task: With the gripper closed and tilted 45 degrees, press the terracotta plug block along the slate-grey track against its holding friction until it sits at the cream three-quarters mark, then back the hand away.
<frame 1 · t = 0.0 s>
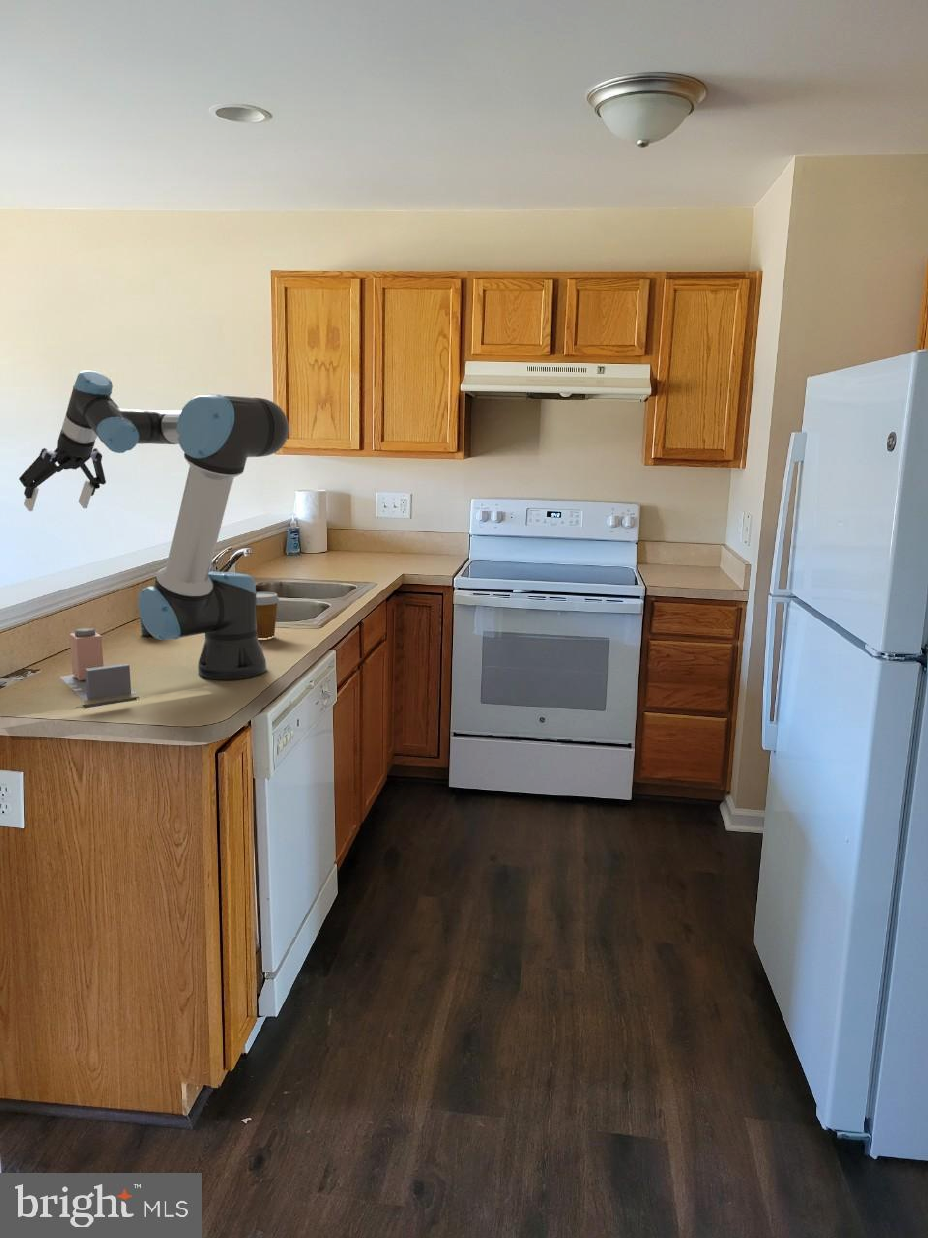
hand: (56, 506, 209), 36 cm above the worktop, tool tilted 35°, fingers open, 13 cm apart
terracotta plug block: (86, 652, 185), point 7 cm above the worktop, slide at 0.0 cm
supplement bottle: (154, 635, 235), on the worktop
disposable coffee cup: (262, 638, 232), on the worktop
slate track: (89, 684, 187), on the worktop
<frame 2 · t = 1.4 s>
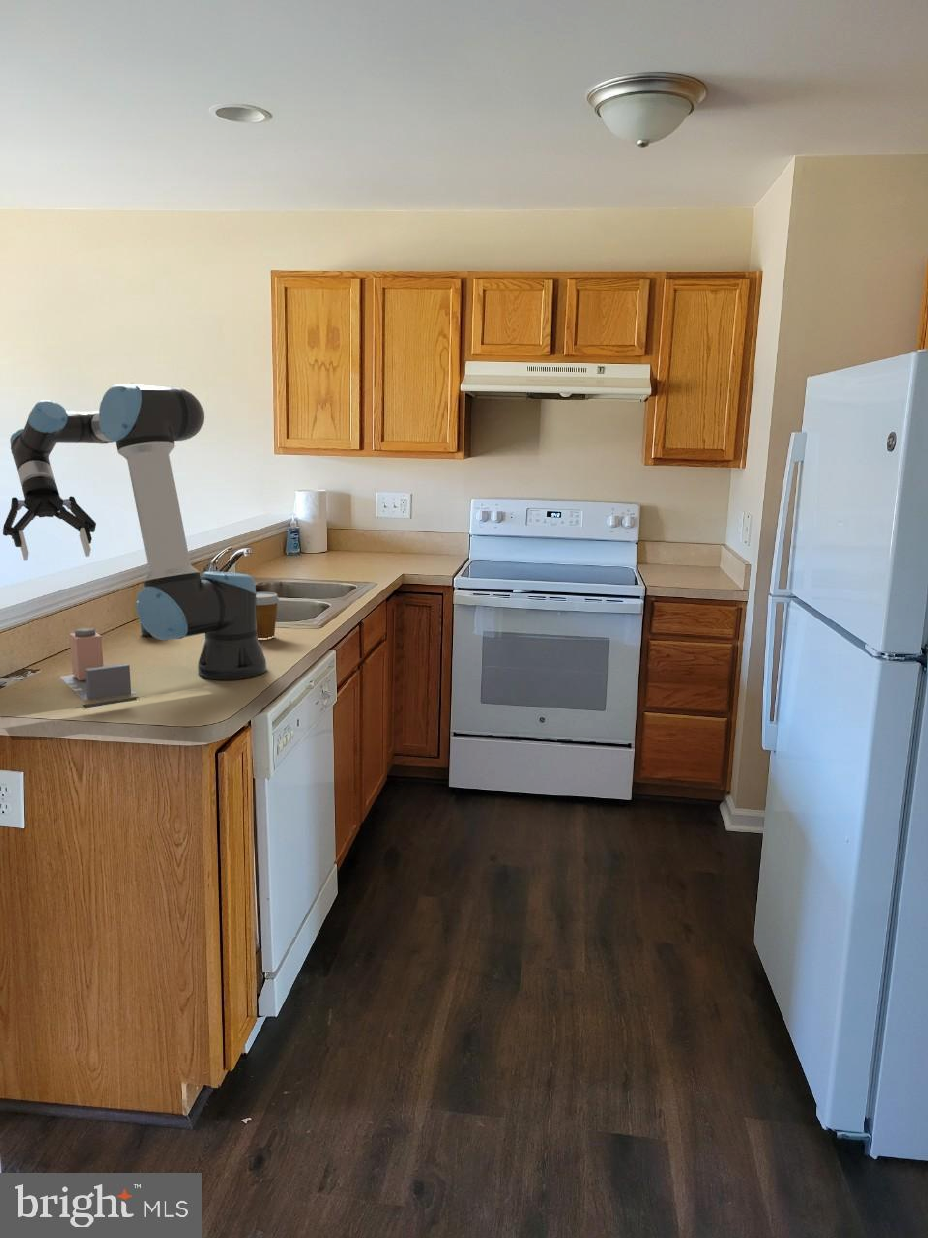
hand: (57, 555, 198), 26 cm above the worktop, tool tilted 45°, fingers open, 12 cm apart
nothing on the worktop moved.
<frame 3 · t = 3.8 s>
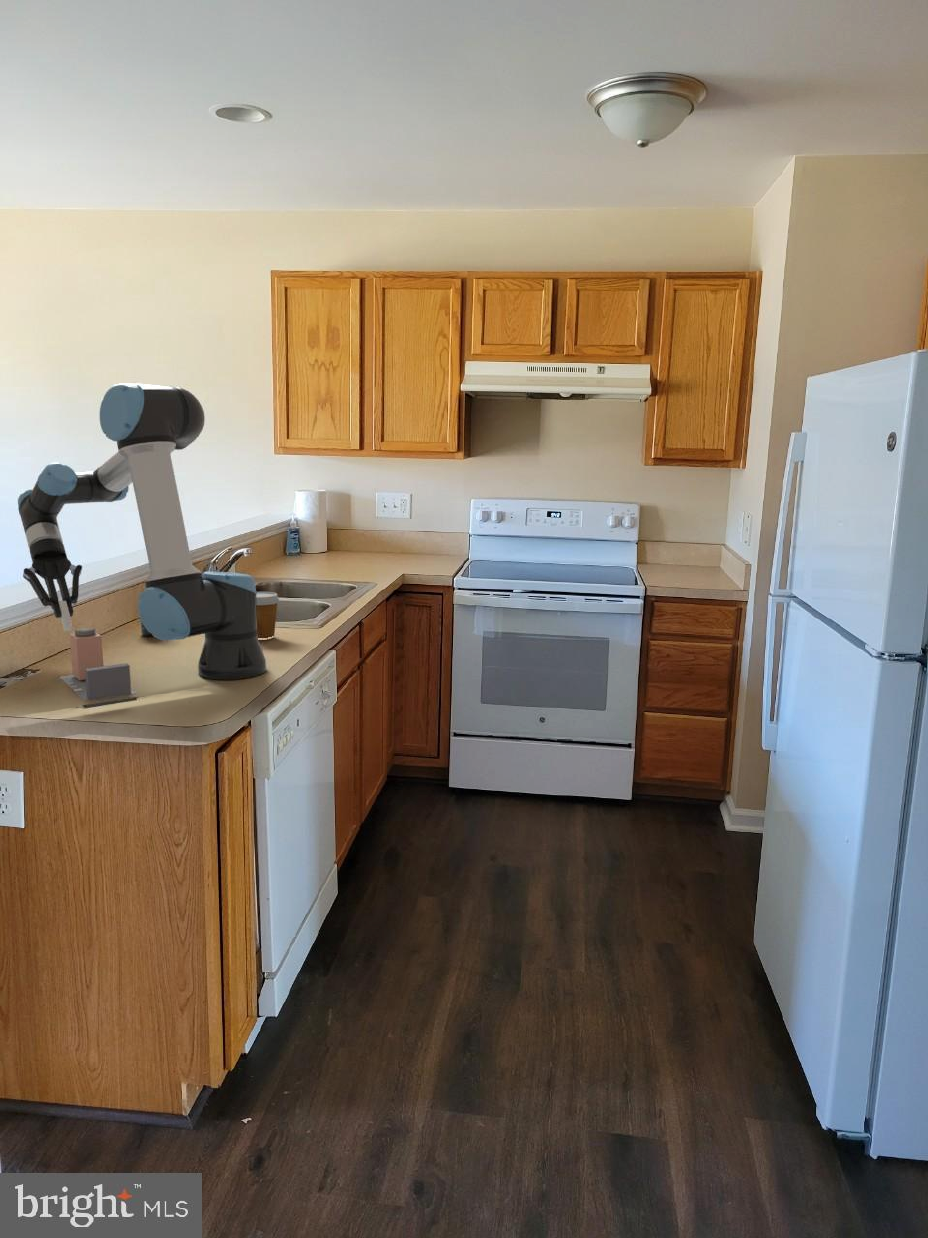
hand: (68, 627, 195), 10 cm above the worktop, tool tilted 45°, fingers closed
nothing on the worktop moved.
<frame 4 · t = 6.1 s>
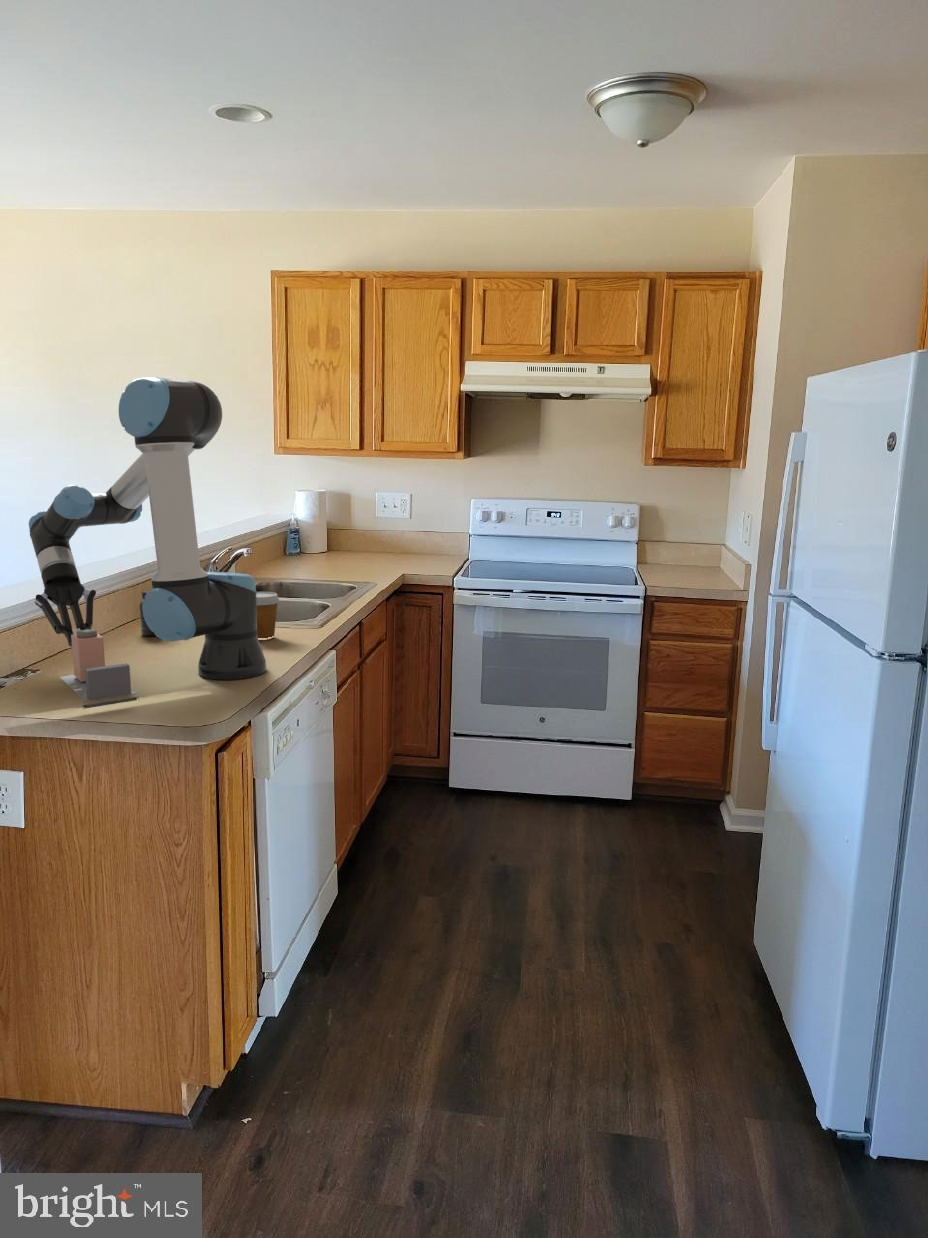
hand: (82, 656, 187), 6 cm above the worktop, tool tilted 45°, fingers closed
terracotta plug block: (88, 654, 184), point 7 cm above the worktop, slide at 1.4 cm, touching gripper
everything else where it was.
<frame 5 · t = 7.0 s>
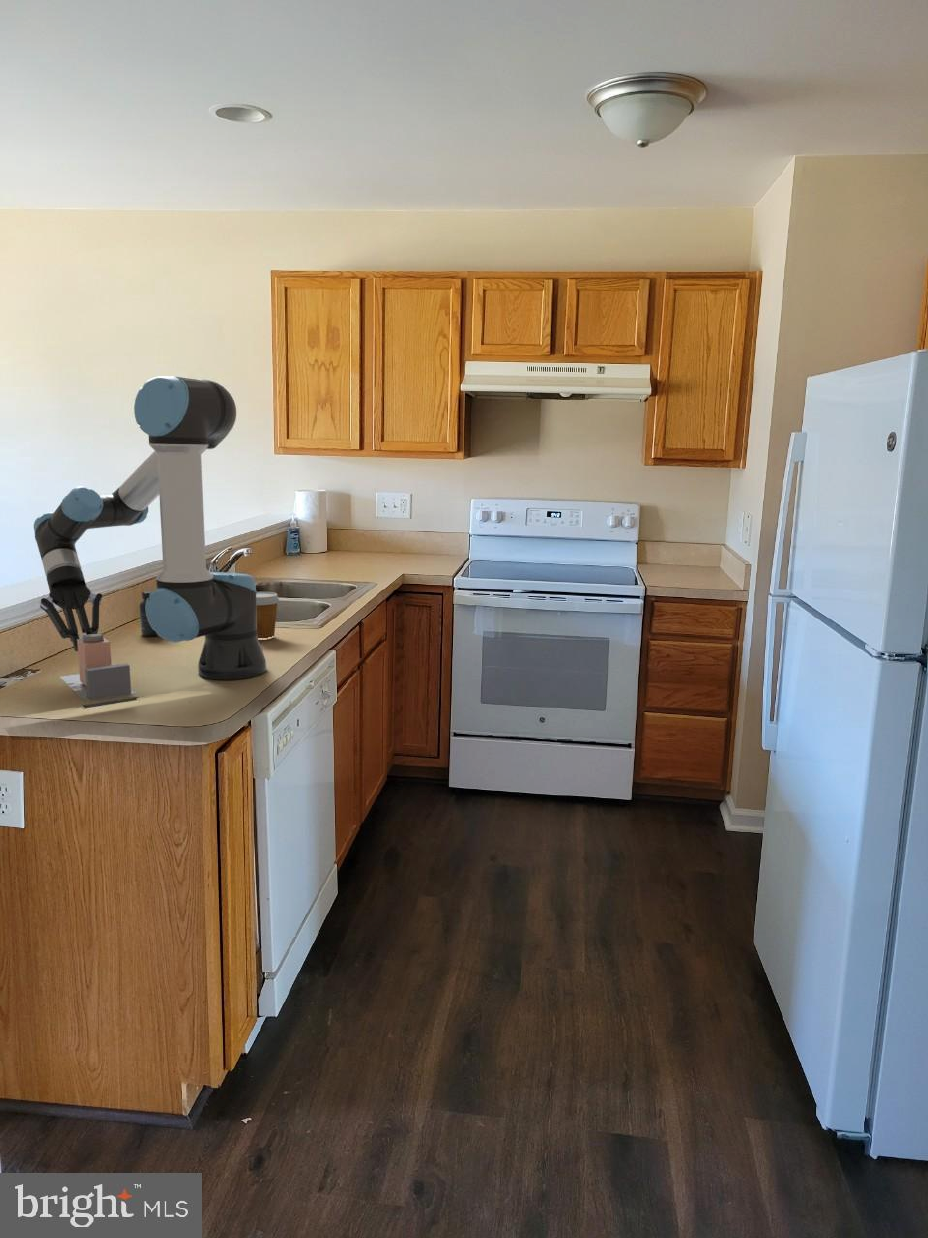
hand: (88, 661, 183), 6 cm above the worktop, tool tilted 45°, fingers closed
terracotta plug block: (94, 659, 180), point 7 cm above the worktop, slide at 6.6 cm, touching gripper
everything else where it was.
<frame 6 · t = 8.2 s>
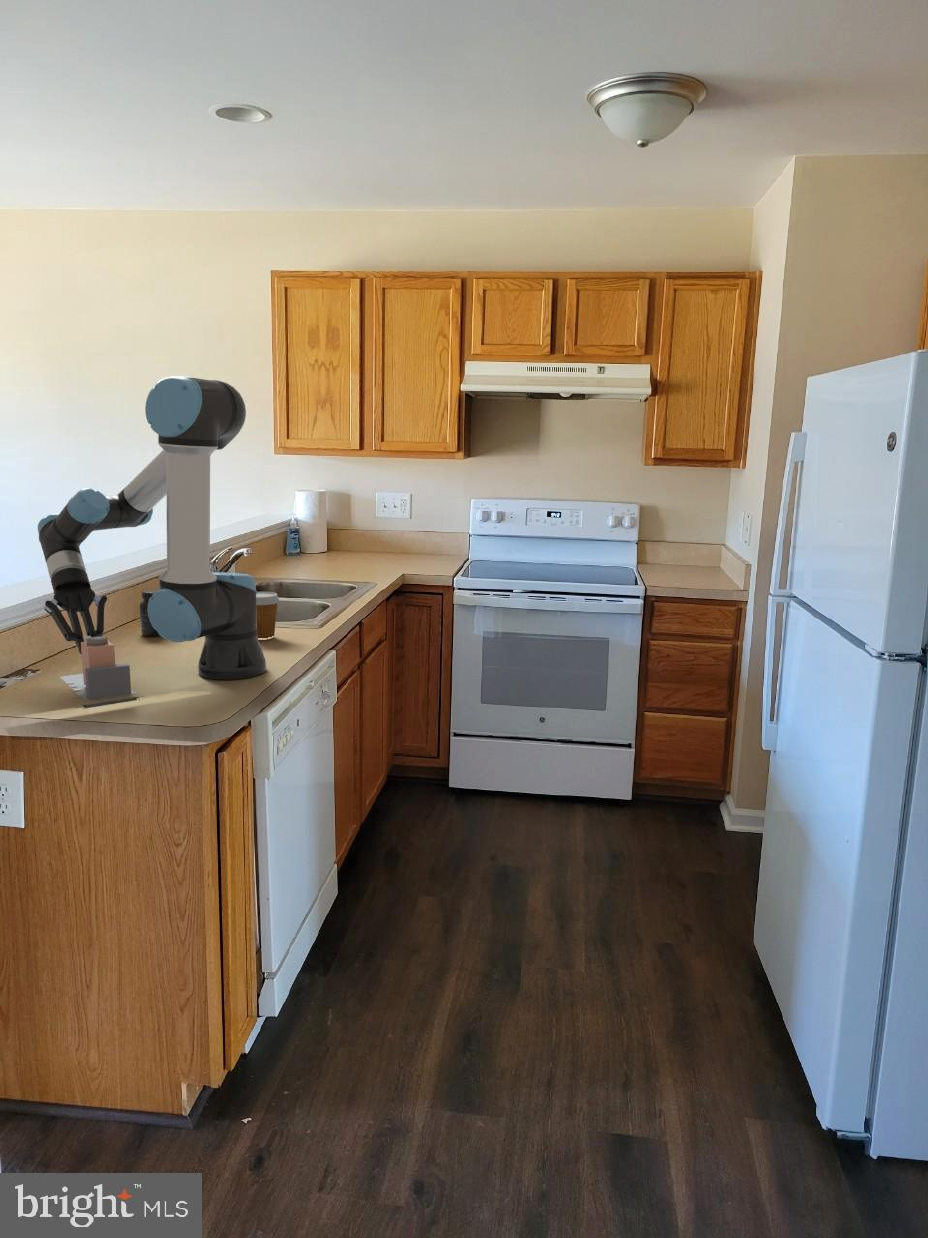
hand: (93, 664, 181), 6 cm above the worktop, tool tilted 45°, fingers closed
terracotta plug block: (98, 662, 178), point 7 cm above the worktop, slide at 9.7 cm, touching gripper
everything else where it was.
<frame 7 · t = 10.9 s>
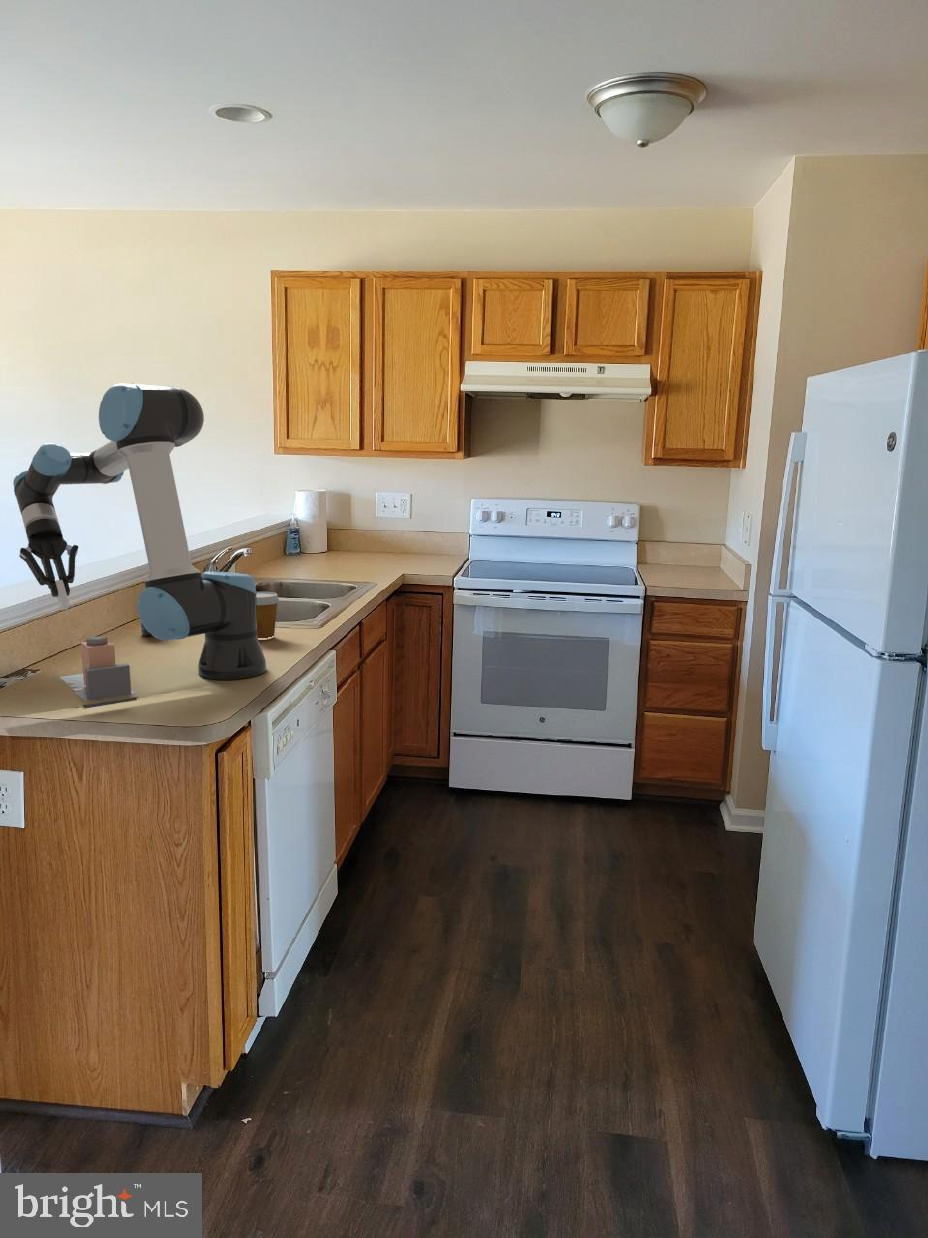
hand: (64, 606, 196), 15 cm above the worktop, tool tilted 45°, fingers closed
terracotta plug block: (98, 662, 178), point 7 cm above the worktop, slide at 9.7 cm
everything else where it was.
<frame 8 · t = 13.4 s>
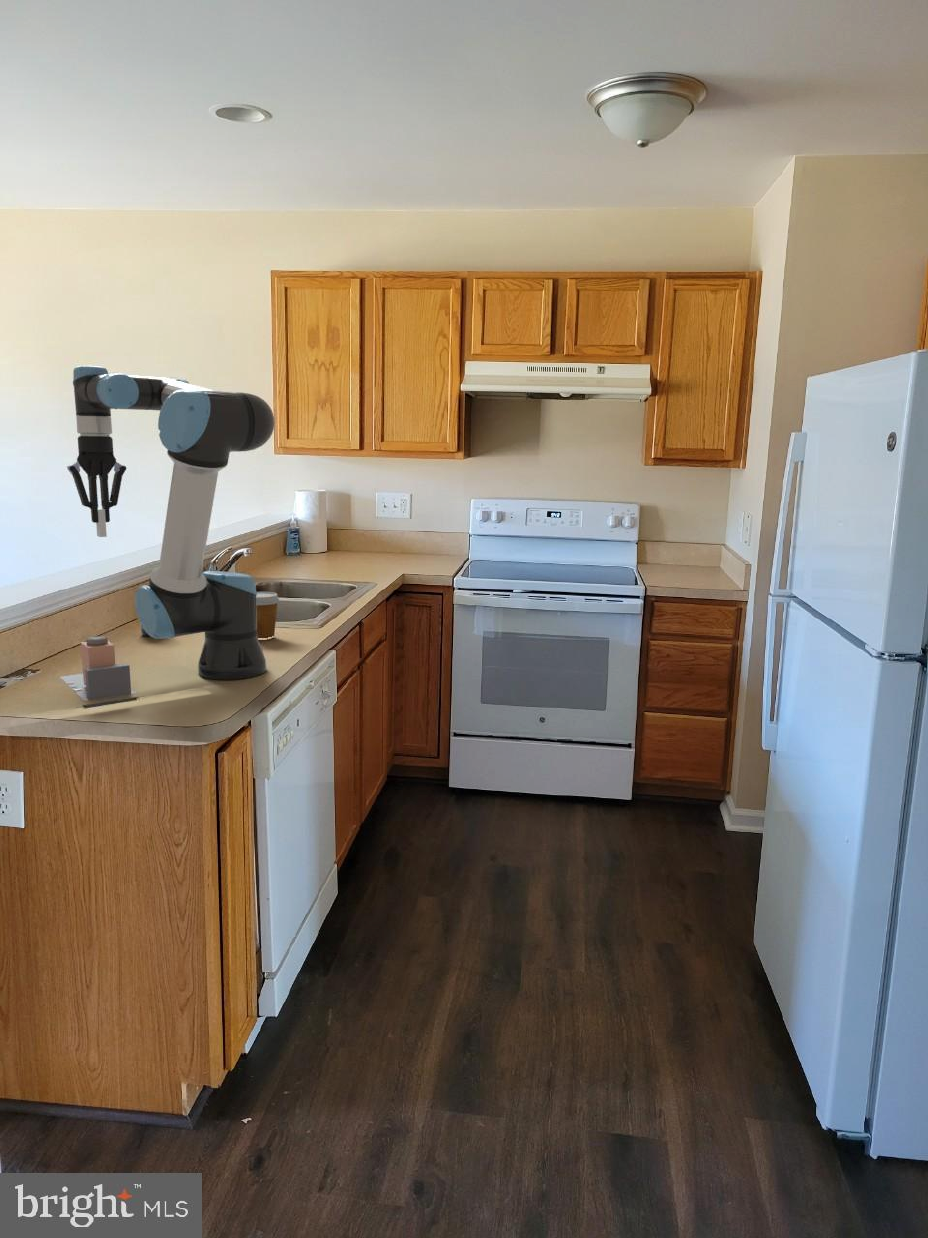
hand: (101, 536, 205), 29 cm above the worktop, tool pointing down, fingers closed
nothing on the worktop moved.
at the end: terracotta plug block slide at 9.7 cm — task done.
